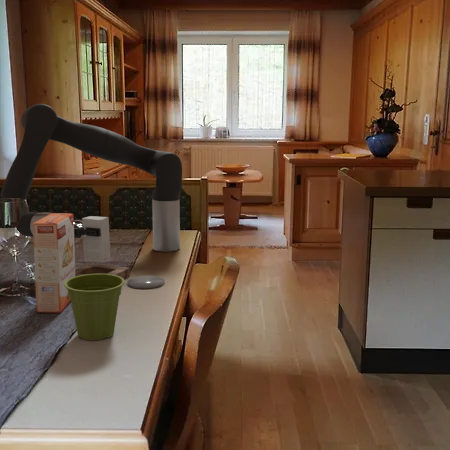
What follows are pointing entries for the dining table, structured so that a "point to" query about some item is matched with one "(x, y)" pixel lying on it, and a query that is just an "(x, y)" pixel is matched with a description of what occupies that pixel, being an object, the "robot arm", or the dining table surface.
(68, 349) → the dining table surface
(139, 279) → the slate coaster
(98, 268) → the pocket block
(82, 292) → the plant pot
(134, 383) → the dining table surface
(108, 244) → the skincare box
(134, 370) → the dining table surface
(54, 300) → the cracker box
